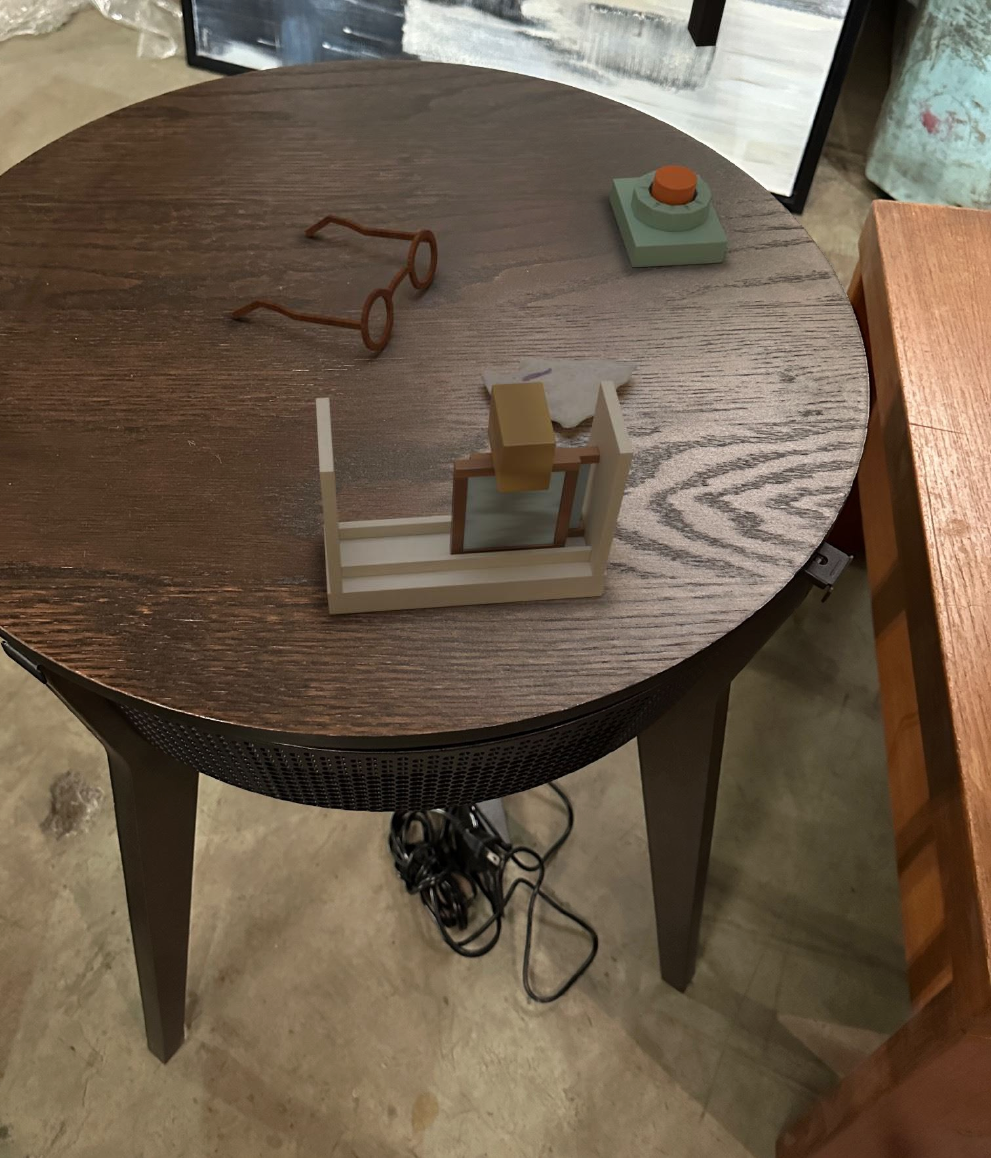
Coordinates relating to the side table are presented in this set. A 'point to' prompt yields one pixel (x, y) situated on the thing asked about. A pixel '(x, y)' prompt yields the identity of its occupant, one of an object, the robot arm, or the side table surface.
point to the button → (674, 185)
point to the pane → (514, 480)
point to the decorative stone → (566, 384)
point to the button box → (666, 225)
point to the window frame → (437, 579)
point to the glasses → (384, 293)
